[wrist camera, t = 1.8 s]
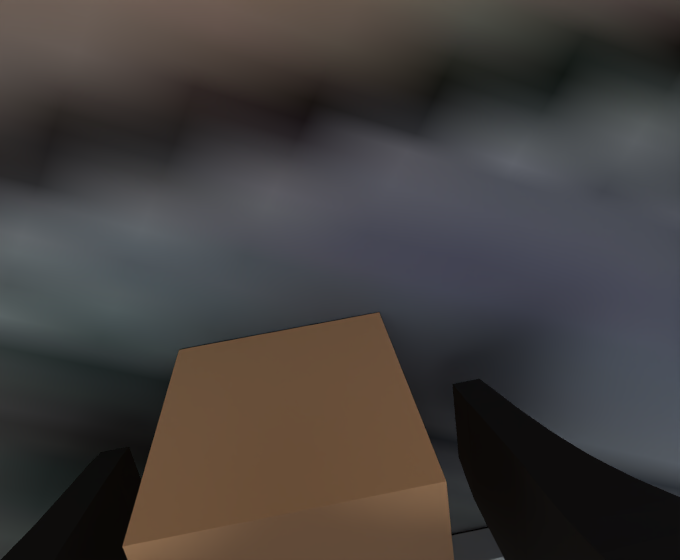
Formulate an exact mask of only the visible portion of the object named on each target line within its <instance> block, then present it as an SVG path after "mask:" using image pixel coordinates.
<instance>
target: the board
mask: <svg viewBox="0 0 680 560" xmlns="http://www.w3.org/2000/svg"><path fill="white" fill-rule="evenodd" d="M452 544H453V554H454V560H505V559H504V557H503V555H502V553H501V551H500V549H499V547H498V545H497V543H496V541H495V539H494V537H493V535H492V534H491V532H490V530H489V528H486V529H481V530H476V531H471V532H466V533H461V534H456V535H452Z"/></svg>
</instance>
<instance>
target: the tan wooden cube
mask: <svg viewBox="0 0 680 560" xmlns="http://www.w3.org/2000/svg"><path fill="white" fill-rule="evenodd" d="M122 547H123V549H124V552H125V554H126V557H127V559H128V560H454V554H453V544H452V534H451V524H450V514H449V504H448V493H447V483H446V479H445V477H444V474H443V472H442V469H441V467H440V464H439V462H438V459H437V457H436V454H435V452H434V449H433V447H432V444H431V442H430V439H429V437H428V434H427V432H426V429H425V427H424V424H423V421H422V419H421V416H420V414H419V411H418V409H417V406H416V404H415V401H414V399H413V396H412V394H411V391H410V389H409V386H408V384H407V381H406V379H405V376H404V374H403V371H402V369H401V366H400V364H399V361H398V359H397V356H396V353H395V351H394V348H393V346H392V343H391V341H390V338H389V336H388V333H387V331H386V328H385V326H384V323H383V321H382V318H381V316H380V313H379V312H378V313H373V314H368V315H362V316H357V317H352V318H346V319H341V320H336V321H330V322H325V323H320V324H314V325H309V326H304V327H298V328H293V329H288V330H282V331H277V332H272V333H266V334H261V335H256V336H250V337H245V338H240V339H234V340H229V341H224V342H218V343H213V344H208V345H202V346H197V347H192V348H186V349H181V350H179V352H178V355H177V359H176V362H175V366H174V369H173V373H172V376H171V380H170V383H169V386H168V390H167V393H166V397H165V400H164V404H163V407H162V411H161V414H160V418H159V421H158V425H157V428H156V432H155V435H154V439H153V442H152V445H151V449H150V452H149V456H148V459H147V463H146V466H145V470H144V473H143V477H142V480H141V484H140V487H139V491H138V494H137V498H136V501H135V504H134V508H133V511H132V515H131V518H130V522H129V525H128V529H127V532H126V536H125V539H124V543H123V546H122Z"/></svg>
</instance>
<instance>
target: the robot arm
mask: <svg viewBox="0 0 680 560" xmlns="http://www.w3.org/2000/svg"><path fill="white" fill-rule="evenodd" d="M453 396H454V407H455V419H456V431H457V442H458V454H459V459H460V462H461V464H462V467H463V470H464V473H465V476H466V479H467V481H468V484H469V487H470V489H471V492H472V495H473V497H474V500H475V502H476V504H477V506H478V508H479V510H480V512H481V514H482V516H483V518H484V520H485V522H486V524H487V526H488V528H489V530H490V532H491V534H492V535H493V537H494V539H495V541H496V543H497V545H498V547H499V549H500V551H501V553H502V555H503V557H504V559H505V560H680V497H678V496H676V495H673V494H671V493H669V492H666V491H664V490H661V489H659V488H657V487H654V486H652V485H650V484H647V483H645V482H643V481H641V480H638V479H636V478H634V477H632V476H630V475H628V474H626V473H624V472H622V471H620V470H618V469H616V468H614V467H612V466H610V465H608V464H606V463H604V462H602V461H600V460H598V459H596V458H594V457H593V456H591V455H589V454H587V453H585V452H584V451H582V450H580V449H579V448H577V447H575V446H574V445H572V444H570V443H569V442H567V441H566V440H564V439H562V438H561V437H559V436H557V435H556V434H554V433H553V432H551V431H550V430H548V429H547V428H546V427H544V426H543V425H541V424H540V423H538V422H537V421H535V420H534V419H532V418H531V417H530V416H528V415H527V414H525V413H524V412H523V411H521V410H520V409H519V408H517V407H516V406H515V405H513V404H512V403H511V402H509V401H508V400H507V399H505V398H504V397H503V396H501V395H500V394H499V393H497V392H496V391H495V390H493V389H492V388H491V387H490V386H488V385H487V384H485V383H484V382H483V381H481V380H480V379H476V380H471V381H466V382H461V383H456V384H453ZM140 484H141V478H140V476H139V473H138V470H137V468H136V465H135V462H134V460H133V457H132V454H131V451H130V449H129V447H126V448H121V449H115V450H110V451H105V452H101V453H100V454H99V455H98V456H97V457H96V458H95V459H94V460H93V461H92V462H91V463H90V464H89V465H88V466H87V467H86V469H85V470H84V471H83V472H82V473H81V474H80V475H79V476H78V477H77V479H76V480H75V481H74V482H73V483H72V484H71V485H70V487H69V488H68V489H67V490H66V491H65V492H64V493H63V494H62V496H61V497H60V498H59V499H58V500H57V501H56V502H55V503H54V504H53V505H52V507H51V508H50V509H49V510H48V511H47V512H46V513H45V514H44V515H43V517H42V518H41V519H40V520H39V521H38V522H37V523H36V524H35V525H34V526H33V527H32V528H31V529H30V530H29V531H28V532H27V533H26V535H25V536H24V537H23V538H22V539H21V540H20V541H19V542H18V543H17V544H16V545H15V546H14V547H13V548H12V549H11V550H10V551H9V552H8V553H7V554H6V555H5V556H4V557H3V558H2V559H1V560H128V559H127V557H126V554H125V552H124V549H123V547H122V546H123V543H124V539H125V536H126V532H127V529H128V525H129V522H130V518H131V515H132V511H133V508H134V504H135V501H136V498H137V494H138V491H139V487H140Z"/></svg>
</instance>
